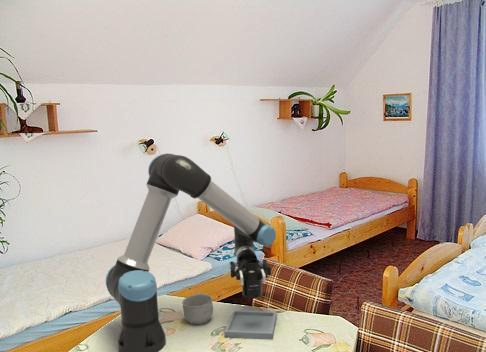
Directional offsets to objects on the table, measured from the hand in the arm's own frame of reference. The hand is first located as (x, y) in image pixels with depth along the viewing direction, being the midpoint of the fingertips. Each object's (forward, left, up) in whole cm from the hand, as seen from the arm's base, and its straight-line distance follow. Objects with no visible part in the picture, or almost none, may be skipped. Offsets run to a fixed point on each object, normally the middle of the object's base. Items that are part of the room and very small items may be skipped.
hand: (253, 280), depth 145 cm
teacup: (-22, +10, -19) cm, 31 cm away
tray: (-2, +5, -19) cm, 19 cm away
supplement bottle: (-1, +5, -7) cm, 9 cm away
